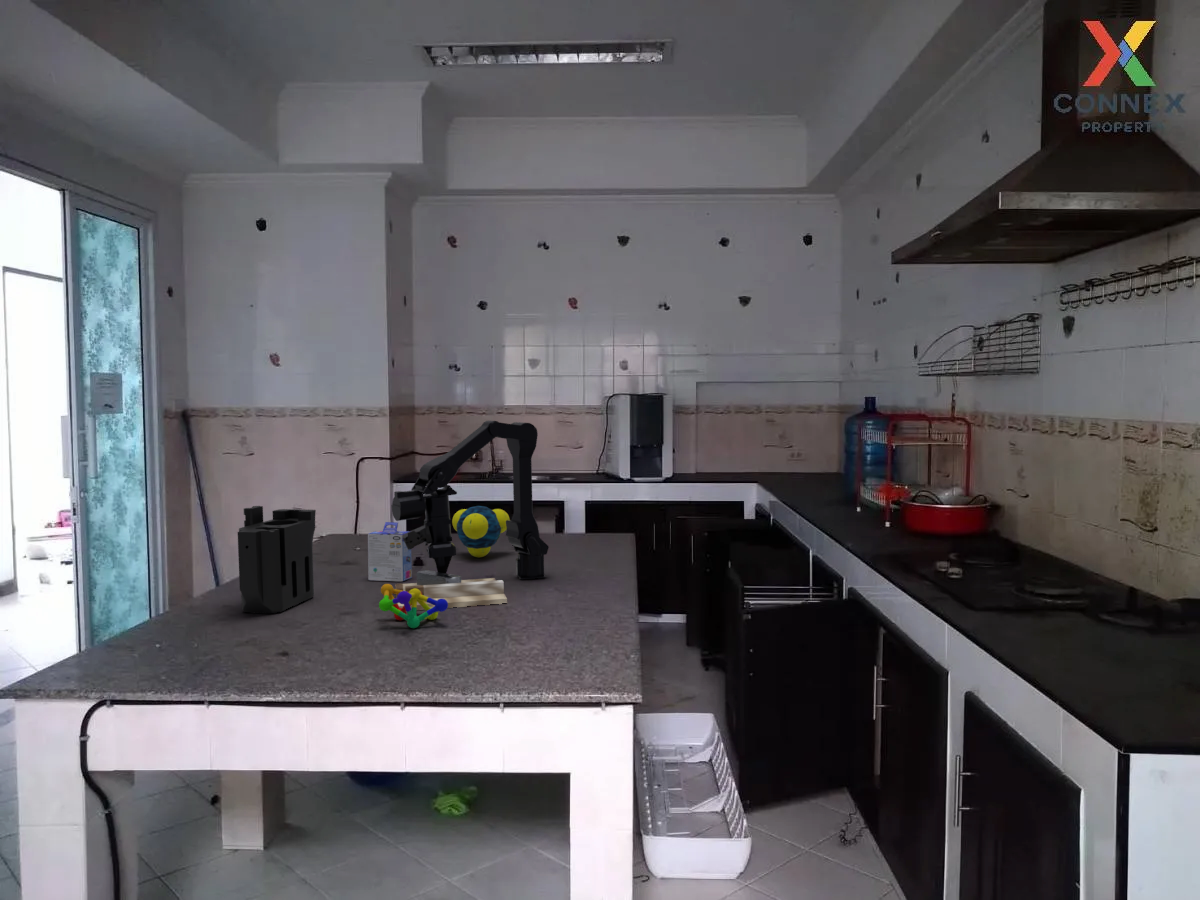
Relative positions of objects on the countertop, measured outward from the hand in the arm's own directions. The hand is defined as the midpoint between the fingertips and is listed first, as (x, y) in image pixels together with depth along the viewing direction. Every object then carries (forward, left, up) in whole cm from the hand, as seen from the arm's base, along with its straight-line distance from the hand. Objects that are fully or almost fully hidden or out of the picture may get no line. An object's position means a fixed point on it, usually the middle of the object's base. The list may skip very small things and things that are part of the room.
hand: (441, 579), depth 202 cm
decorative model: (+8, +28, -3) cm, 29 cm away
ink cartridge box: (+12, -16, -3) cm, 20 cm away
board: (-1, +7, -3) cm, 7 cm away
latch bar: (+1, +4, -1) cm, 4 cm away
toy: (-13, -37, -3) cm, 40 cm away
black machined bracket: (+38, +4, -3) cm, 38 cm away
